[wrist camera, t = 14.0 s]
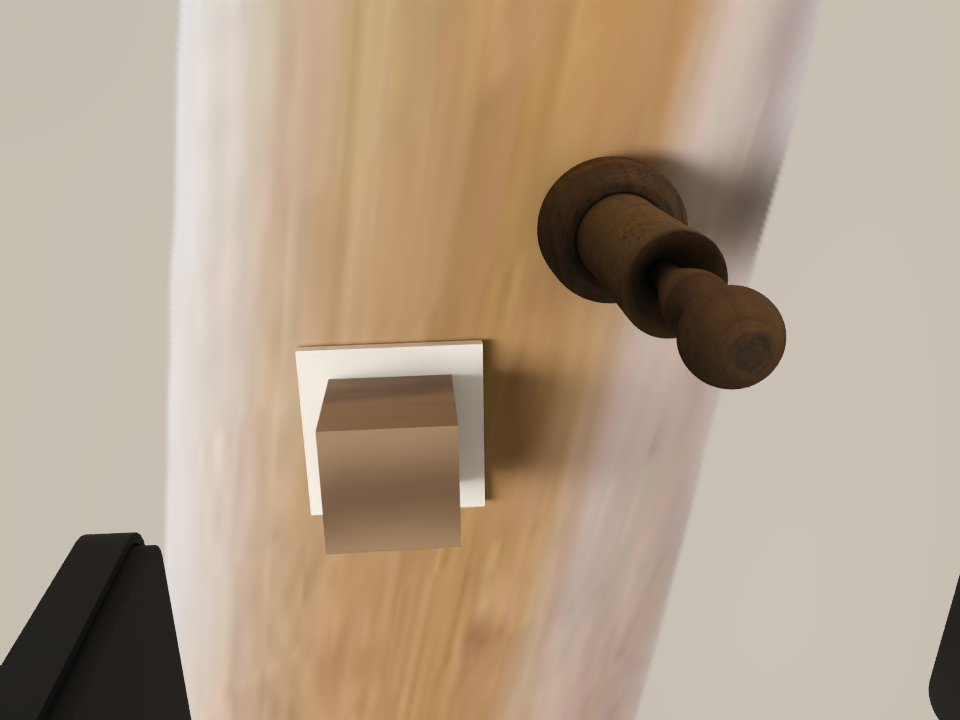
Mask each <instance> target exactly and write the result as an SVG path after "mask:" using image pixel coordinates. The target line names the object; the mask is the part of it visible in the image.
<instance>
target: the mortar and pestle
mask: <svg viewBox="0 0 960 720" xmlns="http://www.w3.org/2000/svg"><path fill="white" fill-rule="evenodd" d="M537 234H538V242H539V247H540V250H541V253H542V255H543V257H544V259H545V261H546V263H547V265H548V266H549V268H550V269H551V270H552V272H553V273H554V274H555V276H556V277H557V278H558V279H559V281H560V282H561V283H562V284H563V285H564V286H565V287H567V288H568V289H569V290H570V291H572V292H573V293H575V294H577V295H578V296H580V297H583V298H585V299H588V300H591V301H595V302H600V303H617V304H618V306H619V307H620V308H621V310H622V311H623V312H624V314H625V315H626V316H627V317H628V319H629V320H630V321H631V322H632V323H633V324H634V325H635V326H636V327H637V328H638V329H640V330H641V331H643V332H644V333H646V334H648V335H651V336H654V337H658V338H677V347H678V351H679V354H680V356H681V358H682V361H683V362H684V364H685V365H686V367H687V368H688V369H689V370H690V371H691V373H692V374H693V375H695V376H696V377H697V378H698V379H700V380H701V381H703V382H705V383H707V384H709V385H711V386H714V387H718V388H722V389H742V388H746V387H750V386H752V385H755V384H757V383H758V382H760V381H762V380H763V379H764V378H766V377H767V376H768V375H770V374H771V373H772V371H773V370H774V369H775V367H776V366H777V365H778V363H779V361H780V360H781V358H782V356H783V353H784V350H785V345H786V329H785V324H784V321H783V319H782V316H781V314H780V313H779V311H778V309H777V308H776V307H775V305H774V304H773V303H772V302H771V301H770V300H769V299H768V298H767V297H765V296H764V295H763V294H761V293H759V292H757V291H755V290H753V289H751V288H748V287H744V286H737V285H727V284H728V273H727V266H726V263H725V260H724V257H723V255H722V253H721V252H720V250H719V248H718V247H717V245H716V244H715V243H714V242H713V241H712V240H710V239H709V238H707V237H706V236H704V235H702V234H701V233H699V232H697V231H695V230H694V229H692V228H690V227H688V223H687V215H686V210H685V207H684V204H683V201H682V199H681V197H680V195H679V194H678V192H677V190H676V189H675V188H674V186H673V185H672V184H671V183H670V182H669V181H668V180H667V179H666V178H665V177H664V176H662V175H661V174H660V173H658V172H657V171H655V170H653V169H651V168H649V167H648V166H646V165H644V164H642V163H640V162H637V161H634V160H631V159H627V158H620V157H601V158H596V159H592V160H588V161H585V162H583V163H580V164H578V165H576V166H575V167H573V168H571V169H570V170H568V171H567V172H566V173H564V174H563V175H562V176H561V177H560V178H559V179H558V180H557V181H556V182H555V183H554V185H553V186H552V187H551V189H550V190H549V192H548V193H547V195H546V197H545V199H544V201H543V203H542V206H541V209H540V212H539V217H538V226H537Z"/></svg>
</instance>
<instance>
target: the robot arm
mask: <svg viewBox="0 0 960 720" xmlns="http://www.w3.org/2000/svg"><path fill="white" fill-rule="evenodd" d="M929 697H930V702H931V705H932V708H933V710H934V712H935V714H936V716H937V717H938V719H939V720H960V576H959V579H958V583H957V586H956V590H955V594H954V597H953V601H952V604H951V608H950V611H949V615H948V618H947V622H946V625H945V629H944V632H943V636H942V639H941V643H940V646H939V650H938V654H937V657H936V661H935V664H934V668H933V671H932V675H931V679H930V683H929ZM0 720H191V716H190V710H189V704H188V699H187V693H186V687H185V682H184V676H183V670H182V665H181V659H180V653H179V648H178V642H177V636H176V631H175V625H174V619H173V614H172V608H171V602H170V597H169V591H168V585H167V580H166V574H165V568H164V563H163V557H162V553H161V550H160V548H159V547H158V546H157V545H146V546H145V544H144V540H143V539H142V537H141V535H140V534H138V533H111V534H87V535H83V536H81V537H80V538H79V539H78V540H77V541H76V543H75V545H74V546H73V548H72V550H71V551H70V553H69V555H68V556H67V558H66V559H65V561H64V563H63V564H62V566H61V568H60V569H59V571H58V573H57V574H56V576H55V578H54V579H53V581H52V583H51V584H50V586H49V587H48V589H47V591H46V592H45V594H44V596H43V597H42V599H41V601H40V602H39V604H38V606H37V607H36V609H35V611H34V612H33V614H32V616H31V617H30V619H29V621H28V622H27V624H26V625H25V627H24V629H23V630H22V632H21V634H20V635H19V637H18V639H17V640H16V642H15V644H14V645H13V647H12V648H11V650H10V652H9V653H8V655H7V657H6V658H5V660H4V662H3V663H2V665H0Z"/></svg>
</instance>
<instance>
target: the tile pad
mask: <svg viewBox="0 0 960 720" xmlns="http://www.w3.org/2000/svg"><path fill="white" fill-rule="evenodd" d="M295 353H296V363H297V373H298V384H299V394H300V404H301V415H302V425H303V435H304V446H305V456H306V466H307V477H308V487H309V497H310V508H311V515H323V512H322V500H321V489H320V478H319V467H318V456H317V444H316V433H315V432H316V427H317V423H318V419H319V415H320V411H321V407H322V403H323V399H324V395H325V391H326V387H327V383H328V379H349V378H374V377H399V376H424V375H449V374H452V381H453V389H454V396H455V404H456V412H457V420H458V436H459V478H460V507H478V506H485V476H484V405H483V343H482V340H467V341H441V342H416V343H390V344H365V345H339V346H314V347H297V348H296V351H295Z"/></svg>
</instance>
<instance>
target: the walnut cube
mask: <svg viewBox="0 0 960 720" xmlns="http://www.w3.org/2000/svg"><path fill="white" fill-rule="evenodd" d="M315 433H316V444H317V456H318V467H319V478H320V489H321V500H322V512H323V523H324V534H325V545H326V554H344V553H363V552H381V551H399V550H418V549H436V548H455V547H461V521H460V478H459V436H458V420H457V412H456V404H455V396H454V389H453V381H452V374H449V375H424V376H399V377H374V378H349V379H328V383H327V387H326V391H325V395H324V399H323V403H322V407H321V411H320V415H319V419H318V423H317V427H316V432H315Z"/></svg>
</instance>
